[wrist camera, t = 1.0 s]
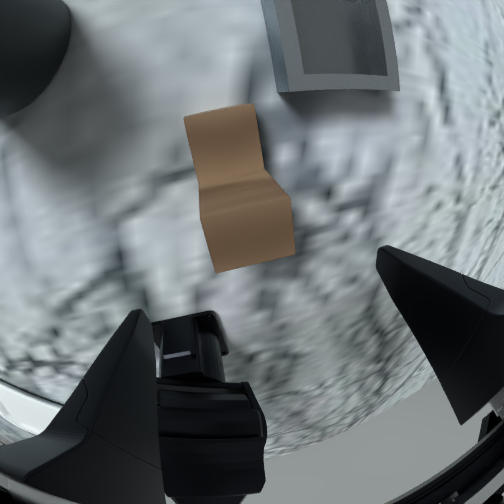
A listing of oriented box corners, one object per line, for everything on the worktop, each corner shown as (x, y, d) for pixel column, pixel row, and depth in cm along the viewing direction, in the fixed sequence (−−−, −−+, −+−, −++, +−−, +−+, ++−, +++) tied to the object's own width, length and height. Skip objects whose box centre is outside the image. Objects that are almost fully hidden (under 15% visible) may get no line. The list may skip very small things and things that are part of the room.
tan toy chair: (263, 201, 19) (295, 254, 13) (208, 213, 19) (215, 273, 13) (247, 103, 15) (279, 107, 10) (184, 116, 15) (176, 127, 9)
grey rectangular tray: (379, 89, 16) (399, 91, 14) (277, 92, 15) (289, 91, 13) (355, -33, 10) (373, -42, 8) (250, -43, 9) (258, -59, 7)
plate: (96, 445, 42) (96, 453, 40) (6, 413, 33) (4, 420, 31) (90, 407, 32) (89, 419, 30) (-30, 358, 22) (-34, 367, 20)
